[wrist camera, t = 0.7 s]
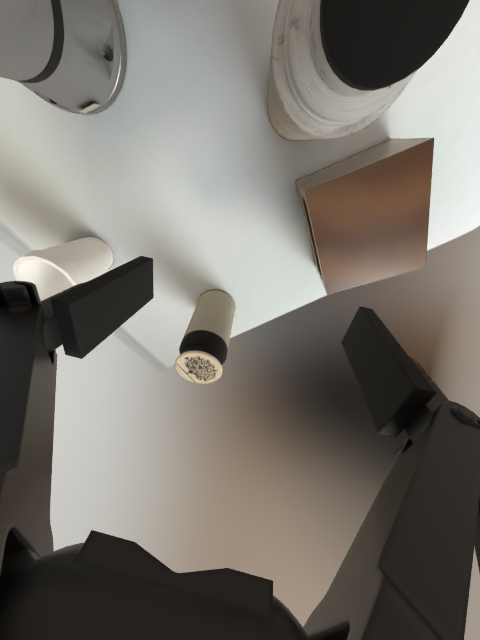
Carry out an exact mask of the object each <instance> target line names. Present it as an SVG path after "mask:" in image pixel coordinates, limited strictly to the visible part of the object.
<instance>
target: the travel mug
mask: <svg viewBox="0 0 480 640" xmlns="http://www.w3.org/2000/svg"><path fill="white" fill-rule="evenodd" d="M234 310H235V304H234V301H233V299H232V298H231V297H230V296H229V295H228V294H226V293H225V292H222V291H219V290H211V291H207V292H205V293H204V294H203V295H202V296H201V297H200V299H199V301H198V304H197V306H196V308H195V311H194V313H193V316H192V318H191V321H190V323H189V325H188V328H187V330H186V333H185V335H184V338H183V340H182V342H181V345H180V348H179V351H180V355H179V356H178V357H177V359H176V362H175V367H176V369H177V371H178V373H179V374H180V375H181V376H183V377H184V378H185V379H187V380H189V381H192V382H196V383H211V382H214V381H216V380H217V379H219V377H220V376H221V374H222V364H223V363H224V362H225V360H226V356H227V350H228V345H229V339H230V333H231V328H232V322H233V316H234Z"/></svg>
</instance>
